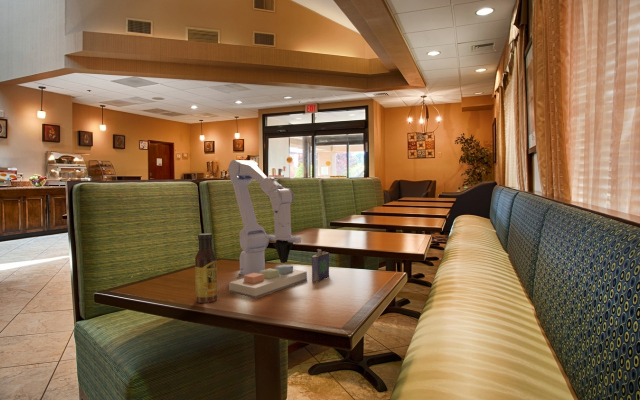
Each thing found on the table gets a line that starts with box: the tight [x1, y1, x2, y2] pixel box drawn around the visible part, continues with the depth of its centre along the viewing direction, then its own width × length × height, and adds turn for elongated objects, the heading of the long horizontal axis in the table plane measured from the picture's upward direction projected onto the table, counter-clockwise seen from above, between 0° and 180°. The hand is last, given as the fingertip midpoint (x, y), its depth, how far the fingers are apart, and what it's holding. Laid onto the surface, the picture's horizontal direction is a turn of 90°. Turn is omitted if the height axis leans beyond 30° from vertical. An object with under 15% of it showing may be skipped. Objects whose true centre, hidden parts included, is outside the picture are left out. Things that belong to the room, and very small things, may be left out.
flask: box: [311, 248, 330, 283], centre depth 130 cm, size 9×3×11 cm, turn 146°
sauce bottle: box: [194, 233, 219, 304], centre depth 109 cm, size 7×6×20 cm
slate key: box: [274, 263, 294, 275], centre depth 128 cm, size 4×4×3 cm
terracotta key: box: [243, 273, 264, 285], centre depth 117 cm, size 4×4×3 cm
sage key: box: [260, 267, 279, 279], centre depth 122 cm, size 4×4×3 cm
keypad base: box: [228, 268, 308, 299], centre depth 123 cm, size 12×24×3 cm, turn 142°
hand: (283, 262), depth 128 cm, fingers closed
